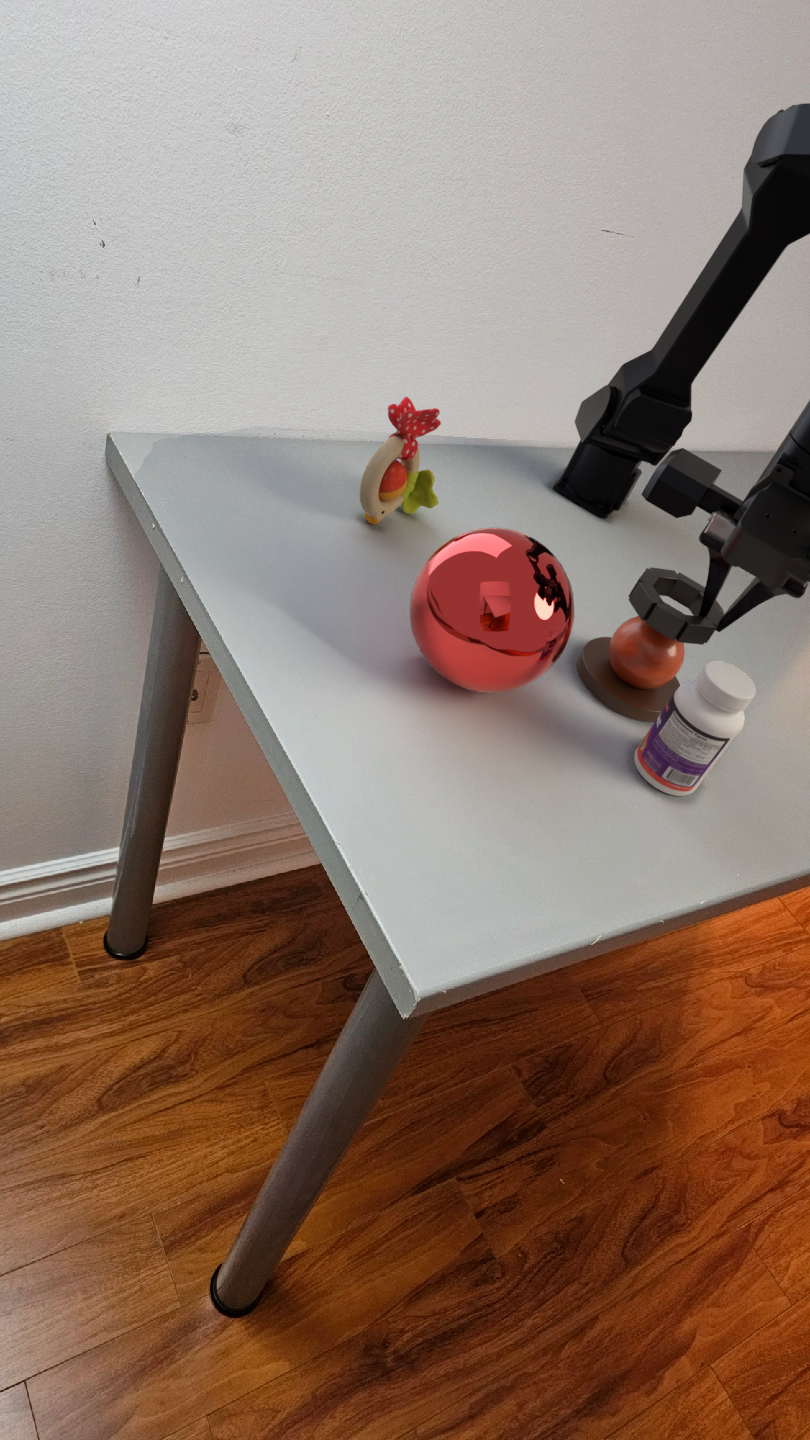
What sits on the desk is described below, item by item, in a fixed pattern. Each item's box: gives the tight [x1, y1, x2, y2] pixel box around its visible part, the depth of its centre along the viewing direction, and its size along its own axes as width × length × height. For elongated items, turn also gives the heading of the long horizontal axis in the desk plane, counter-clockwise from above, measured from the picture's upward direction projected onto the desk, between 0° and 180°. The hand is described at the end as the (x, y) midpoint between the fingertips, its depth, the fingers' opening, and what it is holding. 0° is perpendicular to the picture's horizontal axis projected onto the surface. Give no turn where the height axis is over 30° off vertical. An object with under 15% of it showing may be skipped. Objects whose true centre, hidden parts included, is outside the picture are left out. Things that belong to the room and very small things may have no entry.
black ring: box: [628, 566, 725, 645], centre depth 82 cm, size 7×7×2 cm
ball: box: [409, 526, 575, 694], centre depth 77 cm, size 12×12×12 cm
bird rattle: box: [358, 396, 442, 525], centre depth 91 cm, size 6×11×9 cm
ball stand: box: [576, 615, 685, 723], centre depth 86 cm, size 9×9×6 cm
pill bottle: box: [633, 660, 757, 797], centre depth 78 cm, size 5×5×10 cm
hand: (709, 623), depth 82 cm, fingers closed on black ring, 1 cm apart
